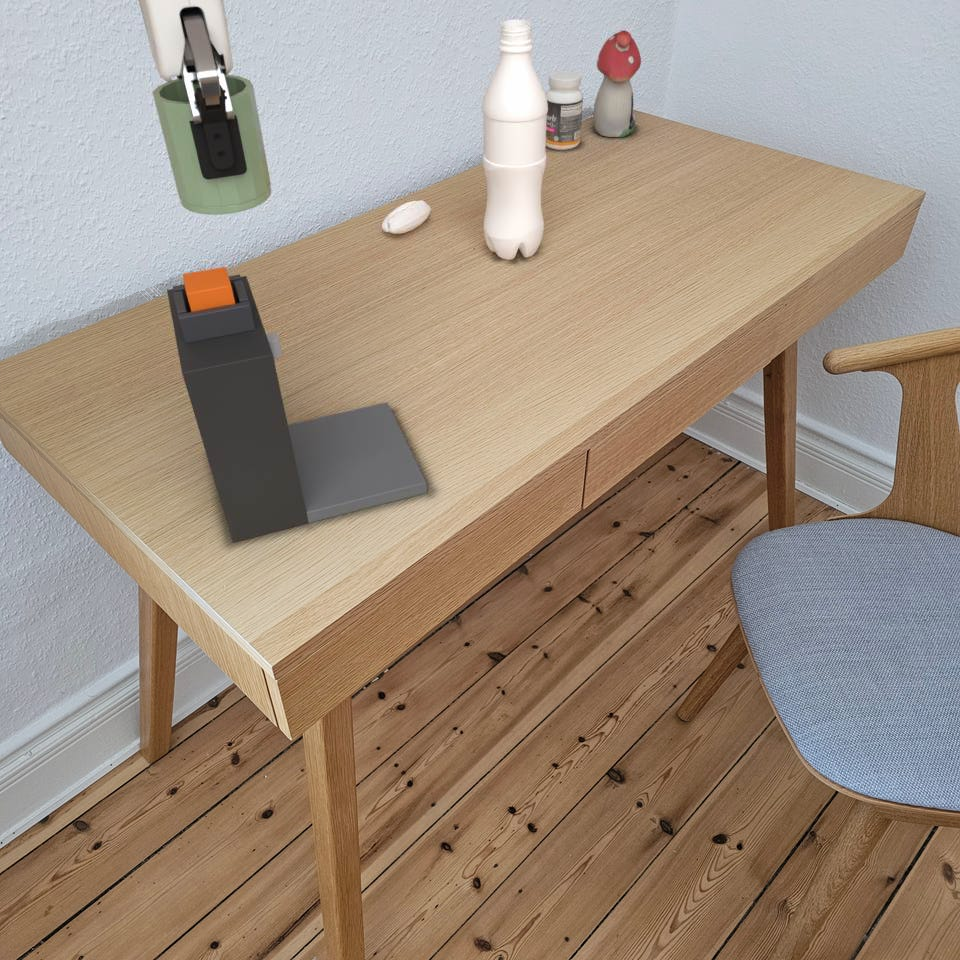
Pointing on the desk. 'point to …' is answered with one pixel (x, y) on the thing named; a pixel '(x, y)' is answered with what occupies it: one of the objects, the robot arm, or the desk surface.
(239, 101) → the cup
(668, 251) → the desk surface
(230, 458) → the coffee maker
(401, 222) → the white oval pebble
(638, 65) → the decorative ornament
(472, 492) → the desk surface
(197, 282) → the button
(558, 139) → the pill bottle
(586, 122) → the desk surface
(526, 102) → the water bottle
